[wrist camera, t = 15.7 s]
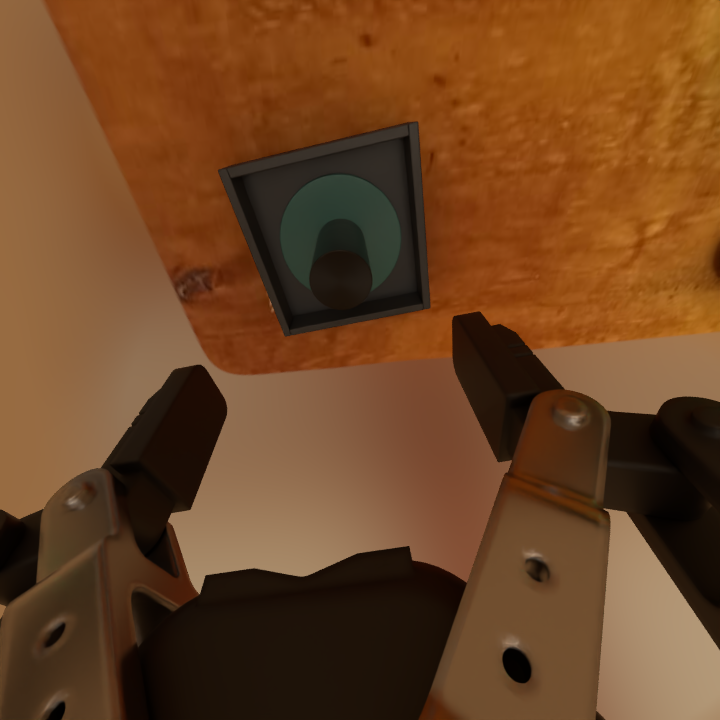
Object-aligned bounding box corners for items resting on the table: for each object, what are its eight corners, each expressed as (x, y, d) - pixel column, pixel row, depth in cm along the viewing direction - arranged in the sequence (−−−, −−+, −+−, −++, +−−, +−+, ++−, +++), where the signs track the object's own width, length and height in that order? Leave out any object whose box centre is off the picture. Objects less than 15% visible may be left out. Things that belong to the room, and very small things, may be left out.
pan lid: (302, 302, 23) (290, 359, 17) (264, 188, 19) (229, 215, 13) (404, 281, 22) (426, 333, 17) (390, 157, 18) (413, 172, 12)
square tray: (289, 319, 24) (284, 337, 22) (230, 165, 18) (217, 170, 16) (423, 293, 24) (430, 308, 22) (409, 121, 17) (418, 121, 15)
